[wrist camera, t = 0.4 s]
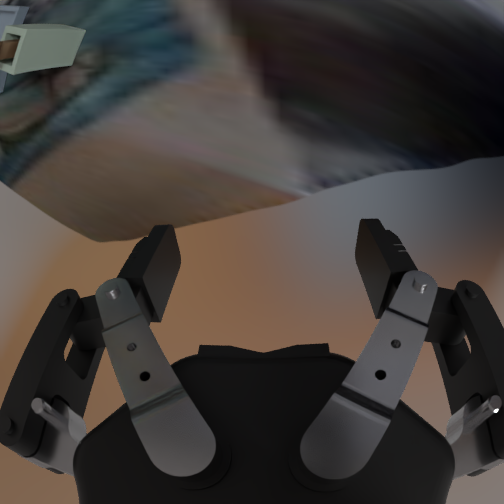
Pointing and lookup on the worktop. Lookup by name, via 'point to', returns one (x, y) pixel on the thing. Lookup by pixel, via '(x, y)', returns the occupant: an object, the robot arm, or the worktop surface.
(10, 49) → the post
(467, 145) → the worktop surface
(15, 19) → the tray
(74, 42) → the green square vase
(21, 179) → the worktop surface
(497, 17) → the worktop surface
